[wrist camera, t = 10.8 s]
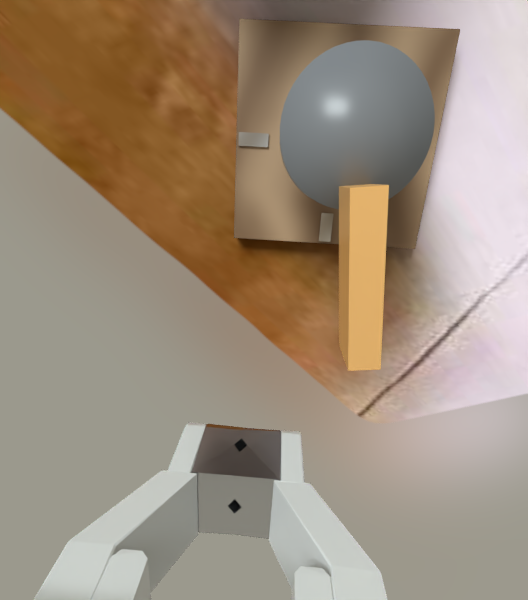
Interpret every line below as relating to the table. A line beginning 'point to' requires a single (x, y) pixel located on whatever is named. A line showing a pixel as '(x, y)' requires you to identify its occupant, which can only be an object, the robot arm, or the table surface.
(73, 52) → the table surface
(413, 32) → the base plate
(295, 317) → the table surface
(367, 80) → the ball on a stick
